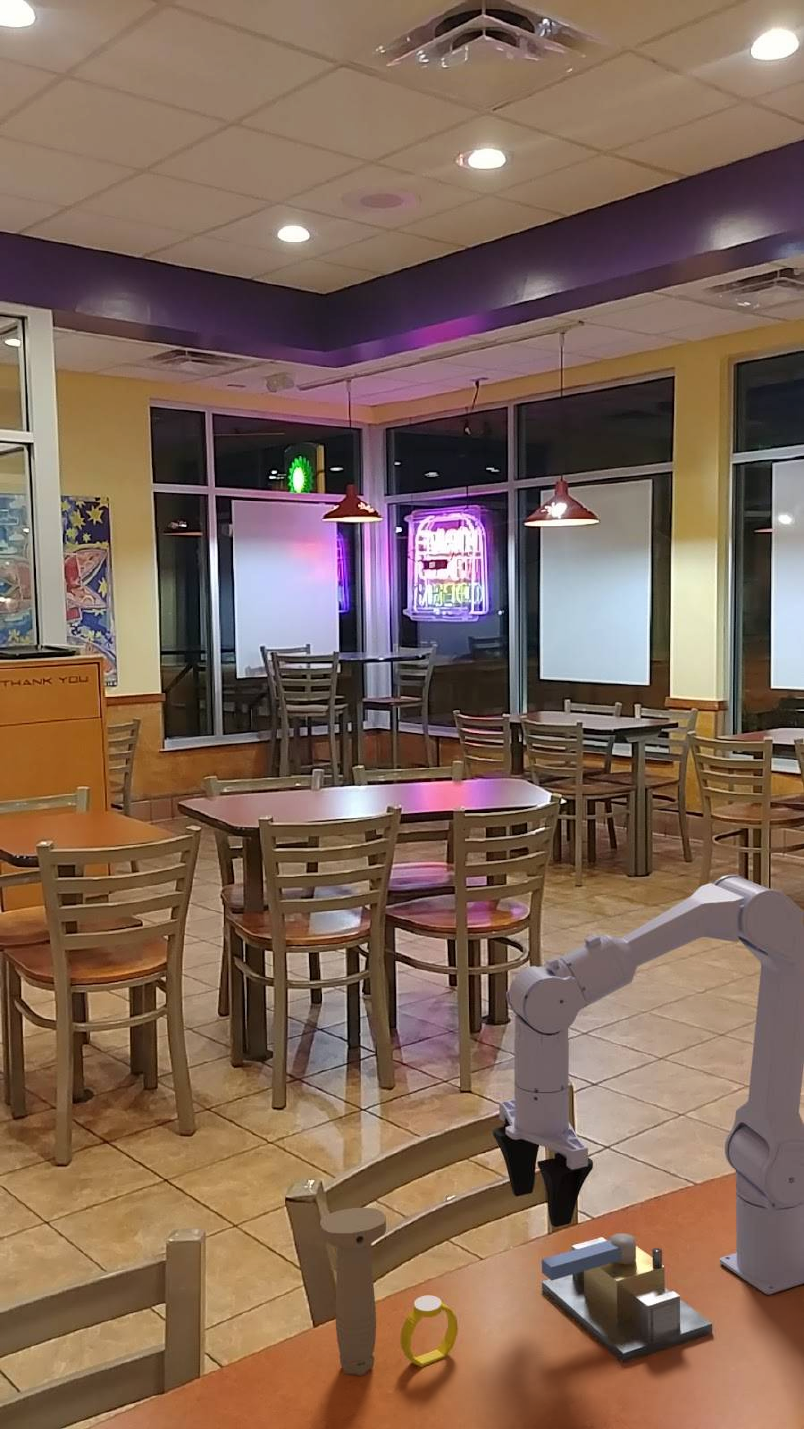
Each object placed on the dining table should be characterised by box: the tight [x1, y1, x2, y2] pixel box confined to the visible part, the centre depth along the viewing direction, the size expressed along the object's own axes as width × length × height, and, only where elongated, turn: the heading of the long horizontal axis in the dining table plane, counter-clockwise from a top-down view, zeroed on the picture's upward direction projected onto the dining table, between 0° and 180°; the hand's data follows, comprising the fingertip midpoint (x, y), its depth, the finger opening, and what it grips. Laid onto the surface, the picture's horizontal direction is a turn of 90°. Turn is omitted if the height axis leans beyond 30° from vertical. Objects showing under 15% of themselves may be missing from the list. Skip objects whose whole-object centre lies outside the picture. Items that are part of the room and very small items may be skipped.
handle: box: [319, 1207, 387, 1377], centre depth 119 cm, size 5×6×15 cm
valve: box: [541, 1237, 713, 1364], centre depth 128 cm, size 11×15×7 cm
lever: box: [541, 1232, 637, 1281], centre depth 126 cm, size 11×3×2 cm, turn 115°
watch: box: [400, 1294, 459, 1368], centre depth 121 cm, size 6×3×6 cm, turn 122°
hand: (541, 1208), depth 129 cm, fingers open, 7 cm apart
